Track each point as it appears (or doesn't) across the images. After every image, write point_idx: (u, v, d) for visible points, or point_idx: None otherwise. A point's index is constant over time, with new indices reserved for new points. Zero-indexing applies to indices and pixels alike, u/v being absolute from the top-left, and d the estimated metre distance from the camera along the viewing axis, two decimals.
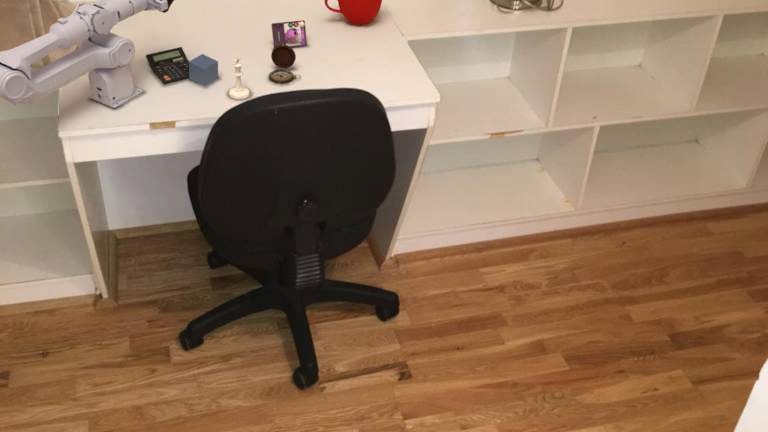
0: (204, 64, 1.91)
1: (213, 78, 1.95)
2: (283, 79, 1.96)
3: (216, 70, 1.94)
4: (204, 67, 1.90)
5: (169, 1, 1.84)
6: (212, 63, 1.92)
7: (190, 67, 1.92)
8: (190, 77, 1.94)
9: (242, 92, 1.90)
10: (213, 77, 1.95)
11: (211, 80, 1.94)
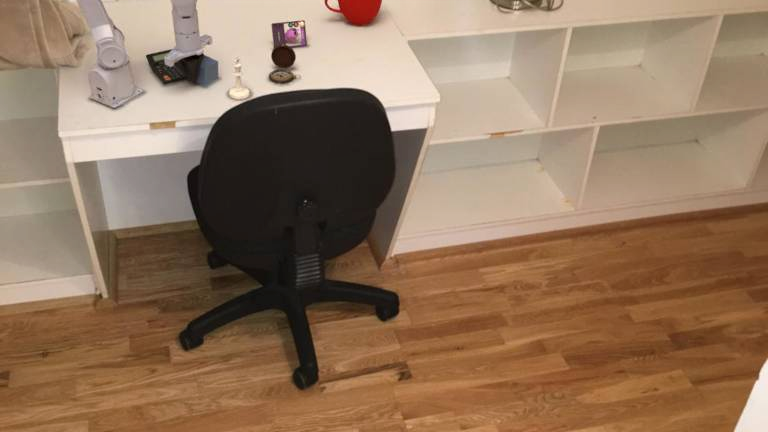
0: (204, 64, 1.91)
1: (213, 78, 1.95)
2: (283, 79, 1.96)
3: (216, 70, 1.94)
4: (204, 67, 1.91)
5: (183, 65, 1.89)
6: (212, 63, 1.92)
7: None
8: None
9: (242, 92, 1.90)
10: (213, 77, 1.95)
11: (211, 80, 1.94)
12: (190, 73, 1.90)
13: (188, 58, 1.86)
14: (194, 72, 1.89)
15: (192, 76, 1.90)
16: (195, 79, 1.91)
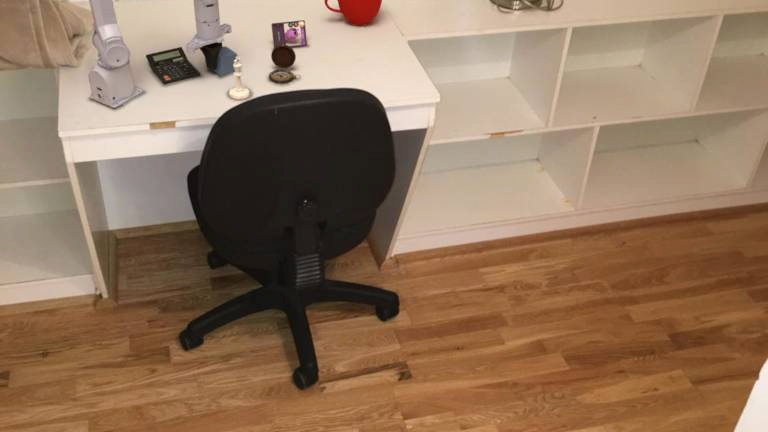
0: (222, 54, 1.96)
1: (231, 70, 1.98)
2: (283, 79, 1.96)
3: None
4: (221, 56, 1.95)
5: (205, 52, 1.94)
6: (230, 54, 1.96)
7: None
8: None
9: (242, 92, 1.90)
10: (231, 69, 1.98)
11: (228, 71, 1.98)
12: (211, 60, 1.95)
13: (210, 45, 1.92)
14: (215, 59, 1.94)
15: (213, 63, 1.95)
16: (213, 68, 1.96)
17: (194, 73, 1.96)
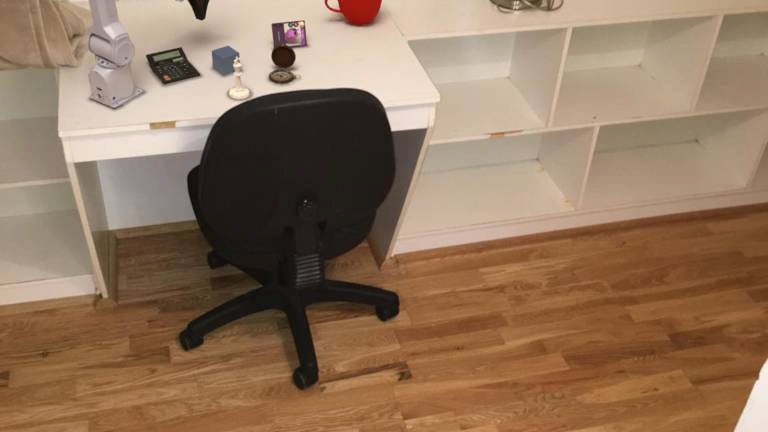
0: (224, 54, 1.96)
1: (234, 69, 1.99)
2: (283, 79, 1.96)
3: None
4: (223, 56, 1.95)
5: (192, 2, 1.98)
6: (232, 54, 1.96)
7: (212, 56, 1.98)
8: (213, 66, 2.00)
9: (242, 92, 1.90)
10: (234, 68, 1.99)
11: (231, 71, 1.99)
12: (198, 11, 1.98)
13: None
14: (202, 10, 1.98)
15: (200, 14, 1.99)
16: (203, 17, 2.00)
17: (194, 73, 1.96)
